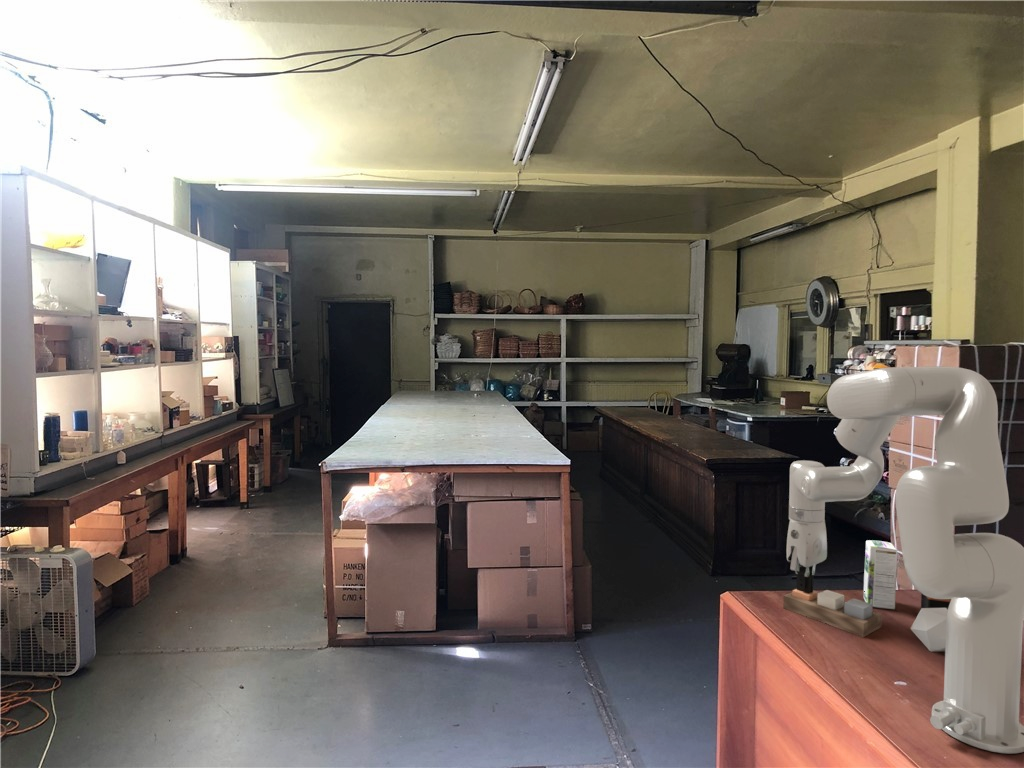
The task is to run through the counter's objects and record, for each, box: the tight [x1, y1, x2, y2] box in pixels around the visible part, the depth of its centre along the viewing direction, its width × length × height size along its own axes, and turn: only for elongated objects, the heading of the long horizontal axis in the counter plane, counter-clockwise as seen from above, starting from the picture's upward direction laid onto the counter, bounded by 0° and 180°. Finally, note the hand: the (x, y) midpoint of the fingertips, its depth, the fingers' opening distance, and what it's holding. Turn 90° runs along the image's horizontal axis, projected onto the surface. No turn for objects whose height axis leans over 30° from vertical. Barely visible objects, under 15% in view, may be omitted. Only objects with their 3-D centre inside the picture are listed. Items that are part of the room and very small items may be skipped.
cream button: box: [817, 589, 845, 610], centre depth 138 cm, size 4×4×3 cm
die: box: [910, 607, 948, 653], centre depth 123 cm, size 8×9×10 cm
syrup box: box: [863, 539, 898, 610], centre depth 145 cm, size 6×6×14 cm
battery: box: [920, 593, 951, 610], centre depth 136 cm, size 4×7×10 cm, turn 158°
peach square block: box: [792, 588, 819, 601], centre depth 143 cm, size 4×4×3 cm
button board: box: [782, 592, 882, 638], centre depth 138 cm, size 18×8×3 cm, turn 35°
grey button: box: [844, 597, 874, 620], centre depth 133 cm, size 4×4×3 cm
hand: (804, 590), depth 143 cm, fingers closed
